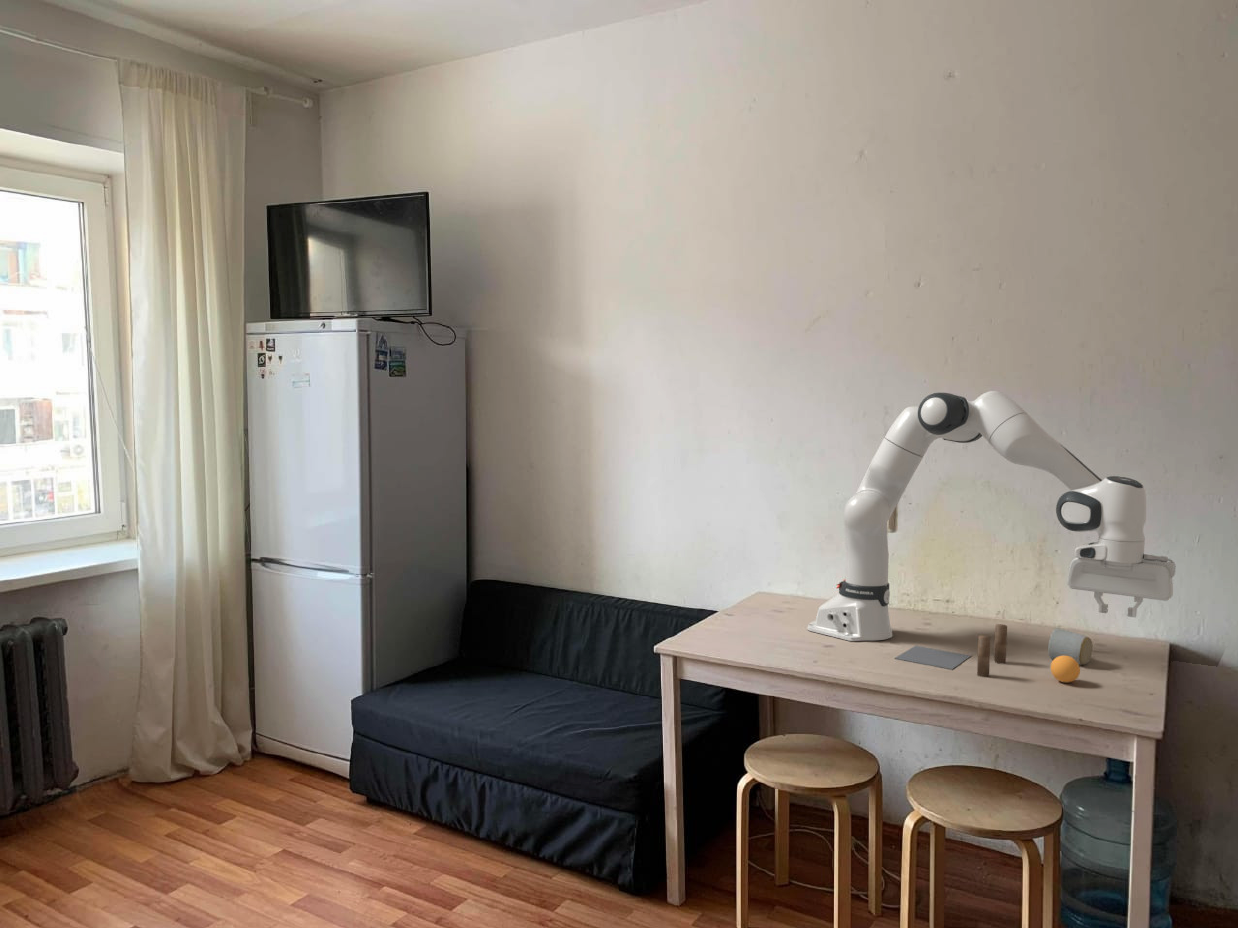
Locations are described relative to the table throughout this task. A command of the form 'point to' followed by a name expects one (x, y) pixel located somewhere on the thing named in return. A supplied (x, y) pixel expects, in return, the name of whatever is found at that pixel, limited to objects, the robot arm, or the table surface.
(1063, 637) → the grey cylinder
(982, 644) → the post near
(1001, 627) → the post far
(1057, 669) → the ball
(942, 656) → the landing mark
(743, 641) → the table surface
